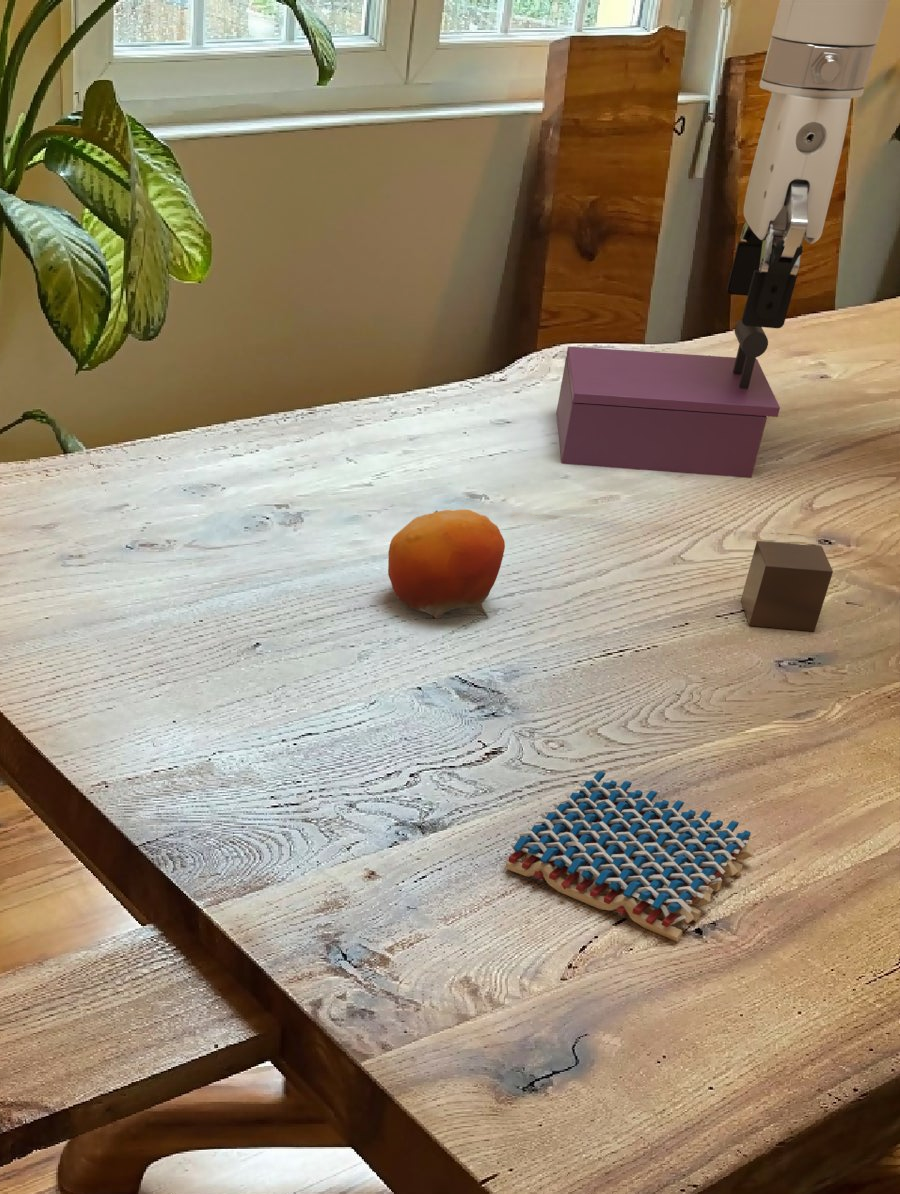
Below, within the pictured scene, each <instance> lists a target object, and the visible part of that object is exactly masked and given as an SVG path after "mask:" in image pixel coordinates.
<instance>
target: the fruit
mask: <svg viewBox="0 0 900 1194" xmlns="http://www.w3.org/2000/svg"><path fill="white" fill-rule="evenodd" d="M505 548H506V542H505V539H504V537H503V534H502V533H501V530H500V529H499V527H498V526H497V524H495V523H494V522H493V521H491V519H490V518H489V516H486V515H484V514H479V513H478V512H475V511H473V510H471V509H456V510H451V509H443V510H440V511H434V512H432V513H428V514H422V515H421V516H417V517H415V518H413V519H412V520H411V521H410V522H409V523H407V524H406V525H405V526H403V528H402V529H400V531H398V532H397V533H396V534H394V536H393V537H392V538H391V541H390V543H389V547H388V552H387V554H388V562H387V563H388V564H387V565H388V567H387V572H388V573H387V574H388V578H389V580H390V583H391V587H392V591H393V592H394V595H396V597H397V598H398V600H399V601H401V602H402V603H403V604H404V605H406V606H407V607H408V608H410V609H411V610H413V611H419V612H422V613H425V614H428V615H431V616H433V617H434V618H435V619H436V621H437V622H438V621H439V619H440V618H442V615H444V614H445V613H448V612H449V611H451V610H455V609H469V610H474V611H478V612H480V613H482V615H484V616H485V618H487V619H489V616H488V613H486V611H485V609H484V607H483V603H484V601H485V600H486V599H487V598H488V597H489V595H490V592H491V590H492V589H493V587H494V585H495V583H496V581H497V578H498V575H499V572H500V569H501V566H502V562H503V559H504V553H505V550H506V549H505Z"/></svg>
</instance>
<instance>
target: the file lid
mask: <svg viewBox="0 0 900 1194" xmlns="http://www.w3.org/2000/svg"><path fill="white" fill-rule="evenodd" d="M734 335H735V338H736V340H737V342H738V348H737V353H736V356H735V357H734V356H720V355H719V356H718V355H703V354H688V353H687V354H686V353H672V352H659V351H643V350H642V351H641V350H627V349H615V348H614V349H613V348H612V349H611V348H596V347H583V346H567V349H566V356H567V362H568V370H569V378H570V385H571V393H572V401H573V403H587V404H601V405H615V406H629V407H643V408H657V409H672V410H686V411H700V412H714V413H728V414H742V415H756V416H767V417H771V418H772V417H773V418H778V417H779V414H780V409H781V406H780V404H779V402H778V400H777V398H776V396H775V394H774V392H773V390H772V388H771V386H770V383H769V382H768V379H767V377H766V375H765V373H764V371H763V368H762V367H761V364H760V362H759V360H758V359H757V358H758V357H761V356H762V355H764V353H766V351H767V349H768V347H769V340H768V337H767V335H766V333H765V331H764V329H763V327H753V326H745V325H744V324H743V323H742V318H740V319H739V320H738V321H737V323H736V324H735V326H734Z"/></svg>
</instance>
